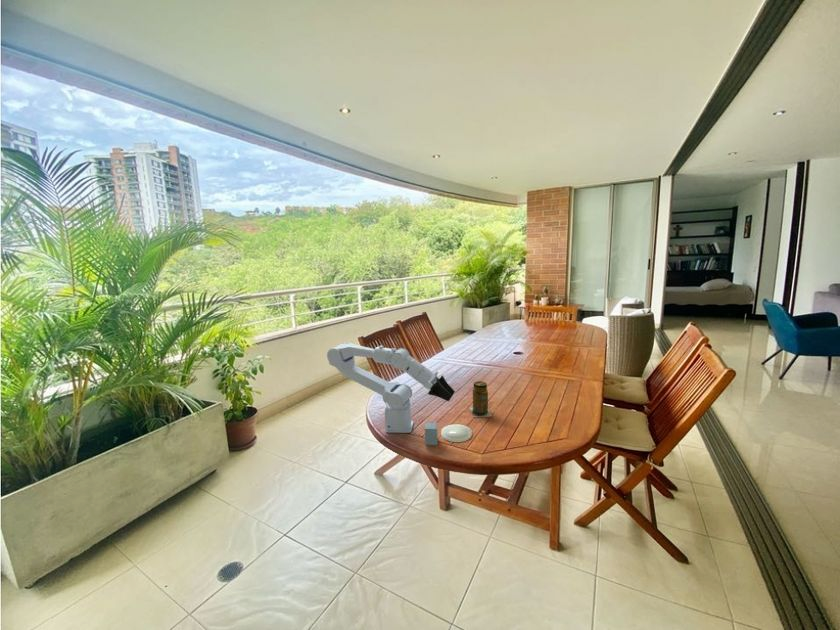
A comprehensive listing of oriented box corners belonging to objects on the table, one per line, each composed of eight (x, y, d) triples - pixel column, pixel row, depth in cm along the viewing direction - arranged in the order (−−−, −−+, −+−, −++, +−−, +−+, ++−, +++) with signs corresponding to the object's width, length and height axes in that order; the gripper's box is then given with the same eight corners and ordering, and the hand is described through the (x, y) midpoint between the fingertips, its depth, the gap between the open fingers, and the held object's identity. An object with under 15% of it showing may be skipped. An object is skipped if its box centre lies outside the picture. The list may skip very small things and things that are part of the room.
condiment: (486, 406, 141) (486, 379, 139) (492, 416, 133) (492, 387, 130) (469, 408, 141) (468, 380, 138) (473, 418, 132) (473, 389, 130)
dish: (440, 442, 117) (440, 439, 117) (442, 426, 128) (441, 423, 127) (472, 443, 116) (472, 440, 115) (471, 426, 126) (471, 423, 126)
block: (425, 444, 116) (424, 428, 114) (426, 438, 119) (425, 422, 118) (437, 445, 115) (436, 429, 114) (437, 438, 119) (437, 422, 118)
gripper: (422, 366, 113) (455, 391, 110) (430, 361, 127) (460, 383, 124) (410, 383, 113) (443, 408, 111) (420, 377, 128) (449, 398, 125)
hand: (451, 396), depth 117 cm, fingers open, 7 cm apart
